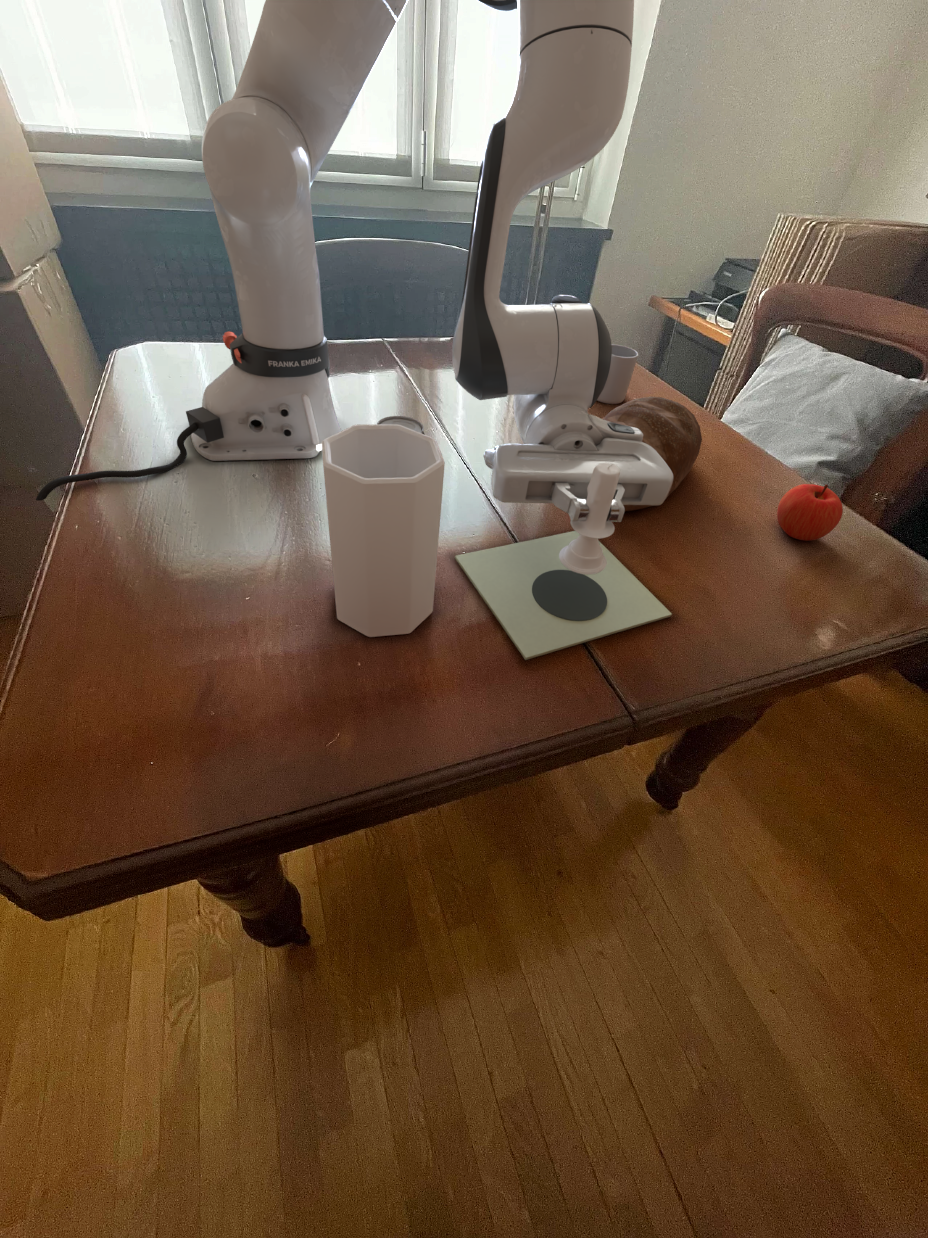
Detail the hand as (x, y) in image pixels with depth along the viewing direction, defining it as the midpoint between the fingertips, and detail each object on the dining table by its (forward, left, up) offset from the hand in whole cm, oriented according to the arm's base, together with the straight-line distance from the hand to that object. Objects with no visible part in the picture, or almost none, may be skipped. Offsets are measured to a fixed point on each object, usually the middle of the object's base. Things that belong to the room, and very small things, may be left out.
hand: (599, 516), depth 56 cm
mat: (0, +3, -12) cm, 12 cm away
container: (+41, +70, -12) cm, 82 cm away
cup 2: (+41, +52, -12) cm, 67 cm away
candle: (0, +1, -7) cm, 7 cm away
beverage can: (-13, +24, -12) cm, 30 cm away
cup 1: (-21, +7, -12) cm, 25 cm away
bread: (+27, +23, -12) cm, 37 cm away
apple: (+41, +2, -12) cm, 43 cm away
